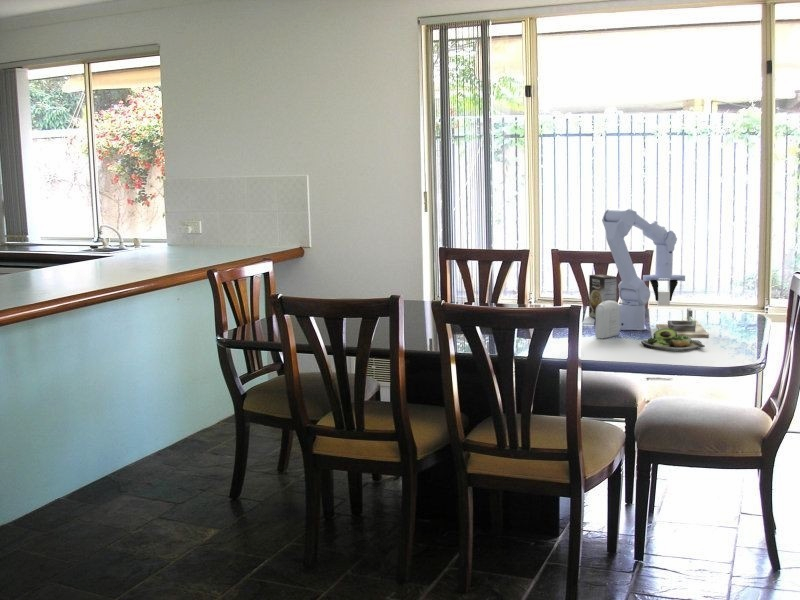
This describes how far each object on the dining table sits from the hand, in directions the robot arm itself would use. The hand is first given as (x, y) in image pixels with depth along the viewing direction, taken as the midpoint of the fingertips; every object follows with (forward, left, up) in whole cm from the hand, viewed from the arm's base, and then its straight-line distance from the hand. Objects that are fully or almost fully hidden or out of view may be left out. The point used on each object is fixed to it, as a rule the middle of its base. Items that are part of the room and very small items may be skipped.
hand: (663, 300), depth 317 cm
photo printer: (-21, -26, -9) cm, 34 cm away
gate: (+9, -5, -7) cm, 13 cm away
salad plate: (-2, -39, -9) cm, 40 cm away
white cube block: (0, 0, -2) cm, 2 cm away
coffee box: (-21, +11, -9) cm, 25 cm away
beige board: (+4, -11, -8) cm, 14 cm away
